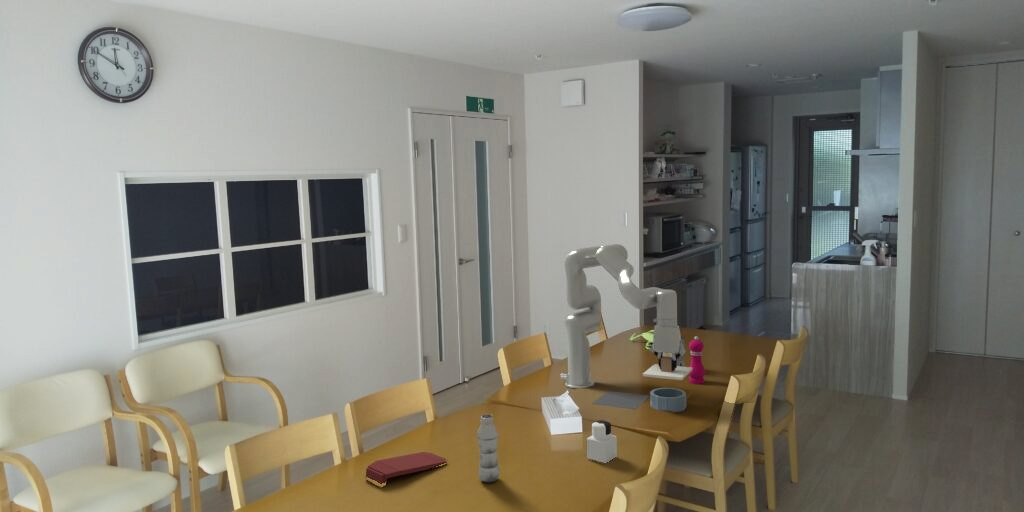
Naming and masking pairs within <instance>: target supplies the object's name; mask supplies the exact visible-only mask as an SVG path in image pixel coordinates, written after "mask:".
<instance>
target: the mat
mask: <svg viewBox="0 0 1024 512" xmlns="http://www.w3.org/2000/svg"><path fill="white" fill-rule="evenodd" d="M648 398H650V395H646V394H639V393H630V392H629V393H628V392H621V391H612V390H607V391H606V392H605V393H604V394H602V395H600V396H599V397H598V399H596V400H594V401H593V402H592V403H591V404H592V405H597V406H598V405H599V406H605V407H612V408H613V407H615V408H623V409H629V410H637V409H638V408H639V407H640V406H641V405H643V403H645V402H646V401H647V400H648Z"/></svg>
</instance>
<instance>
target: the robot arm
mask: <svg viewBox="0 0 1024 512" xmlns="http://www.w3.org/2000/svg"><path fill="white" fill-rule="evenodd" d="M628 257H629V254H628V250H627V248H626V247H625V246H624V245H622V244H619V243H613V244H606V245H596V246H589V247H581V248H577V249H574V250H572V251H571V252H568V253H567V255H566V257H565V260H564V269H565V277H566V302H567V305H568V307H569V308H570V309H572V310H577V311H576V312H572V313H571V314H568V315H567V317H566V318H565V319H564V323H563V324H564V330H565V334H566V343H567V345H566V347H567V349H566V350H567V373H562V372H561V373H560V375H559V378H560V379H561V380H565V381H564V386H565V387H567V388H569V389H585V388H586V389H587V388H591V387H592V386H594V385H595V381H594V380H592V379H591V355H590V354H591V353H590V352H591V349H590V346H591V345H590V342H589V338H588V336H587V334H588V333H591V332H594V331H596V330H598V329H599V328H600V327H601V325H602V297H601V293H600V290H599V288H597V287H596V286H595V285H592V284H587V275H586V273H585V270H584V269H588V268H595V267H596V268H597V267H602V268H603V269H604V270H605V271H606V272H607V273H608V274H609V275H611V277H612V278H614V279H615V280H616V281H617V283H618V285H617V286H618V289H619V292H620V294H621V296H622V297H623V298H624V299H625V300H626V301H627V302H628V303H629V304H630V305H631V306H632V307H634V308H635V309H638V310H646V309H649V308H654V307H655V308H656V318H652V320H653V323H656V325H654V327H653V330H654V333H653V334H654V335H653V343H652V344H651V345H652V346H650V347H649V348H650V349H649V350H648V351H650V353H652V354H653V355H654V356H656V358H657V360H658V364H659V367H660V369H661V358H662V357H663V352H665V353H672V357H673V359H672V371H674V370H675V369H676V368H677V358H678V357H680V356H681V355H683V354H684V355H685V354H686V353H687V352H686V350H685V347H684V348H683V346H682V345H681V335H682V334H681V331H680V326H679V325H678V302H677V299H678V298H677V292H676V290H674V289H664V288H660V287H657V286H652V287H646V288H643V289H640V288H639V287H638V286H637V285H636V284H635V283H634V282H633V281H632V279H631V278H632V276H633V275H634V272H635V267H634V266H633V265H632V264H631V263H630V262H629V261H628ZM582 309H583V310H582ZM579 310H581V311H579ZM679 350H680V351H681V352H679ZM677 352H679V353H678V354H677Z"/></svg>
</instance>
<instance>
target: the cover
mask: <svg viewBox="0 0 1024 512" xmlns="http://www.w3.org/2000/svg"><path fill="white" fill-rule="evenodd" d="M672 359H673V357H668V356H663V357H662V358H661V369H660V367H659V363H654V364H653V365H651V366H650V367H649V368H648V369H647V370H646V371H644V372H643V373H642V377H646V378H656V379H657V378H658V379H663V380H664V379H666V380H676V381H683V380H684V379H685V378H686V377H687V376H688V375H689V373H690V372H691V371H692V367H689V366H684V367H682V366H677V368H676V369H675V370H674V371H672Z"/></svg>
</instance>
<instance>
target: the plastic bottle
mask: <svg viewBox="0 0 1024 512" xmlns="http://www.w3.org/2000/svg"><path fill="white" fill-rule="evenodd" d="M476 437H477V438H476V439H477V442H478V450H479V463H478V464H479V465H478V470H477V471H478V473H477V474H478V476H479V479H480V481H482V482H483V481H484V482H483V483H494V482H496V481H497V480H498V479H499V477H500V473H501V470H500V466H499V462H498V461H499V460H498V440H499V439H498V438H499V432H498V429H497V428H496V426H495V425H494V417H493V414H490V413H489V414H488V413H486V414H482V415H481V416H480V426H479V428H478V429H477V432H476ZM493 481H494V482H493Z"/></svg>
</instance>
